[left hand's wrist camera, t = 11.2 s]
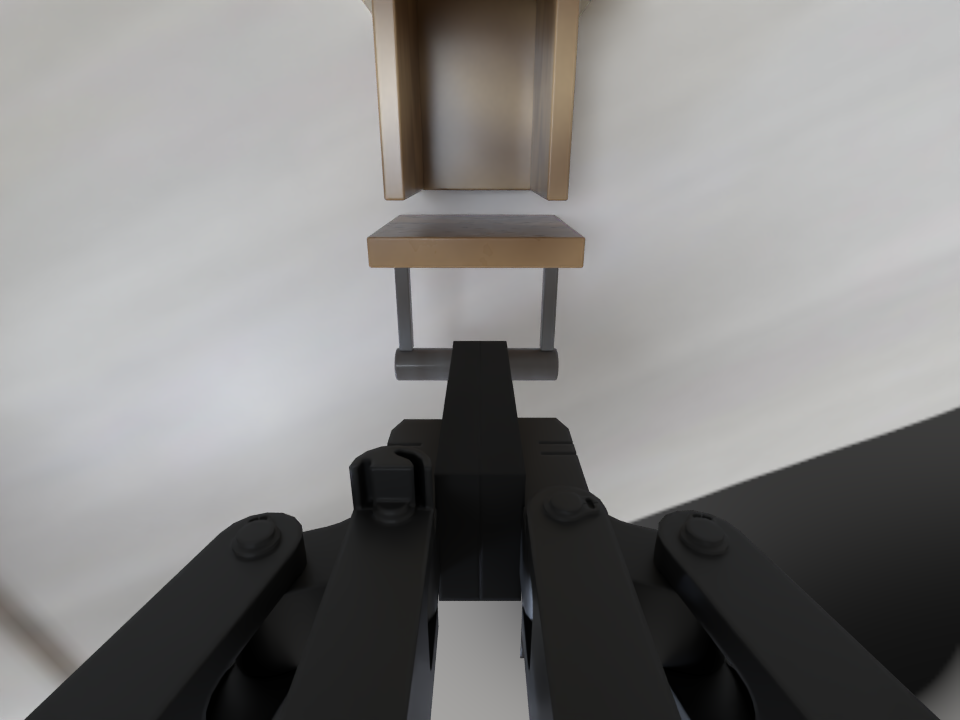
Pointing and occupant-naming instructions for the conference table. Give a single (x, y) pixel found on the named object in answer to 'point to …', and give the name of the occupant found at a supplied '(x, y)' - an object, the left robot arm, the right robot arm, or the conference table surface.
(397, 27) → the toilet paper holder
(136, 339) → the conference table surface
